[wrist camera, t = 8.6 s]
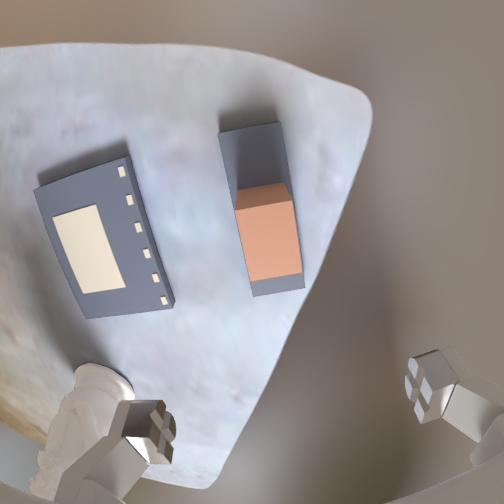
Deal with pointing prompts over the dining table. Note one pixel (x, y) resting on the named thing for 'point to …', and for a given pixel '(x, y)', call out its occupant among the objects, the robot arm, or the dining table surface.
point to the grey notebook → (105, 241)
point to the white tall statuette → (79, 424)
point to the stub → (263, 207)
